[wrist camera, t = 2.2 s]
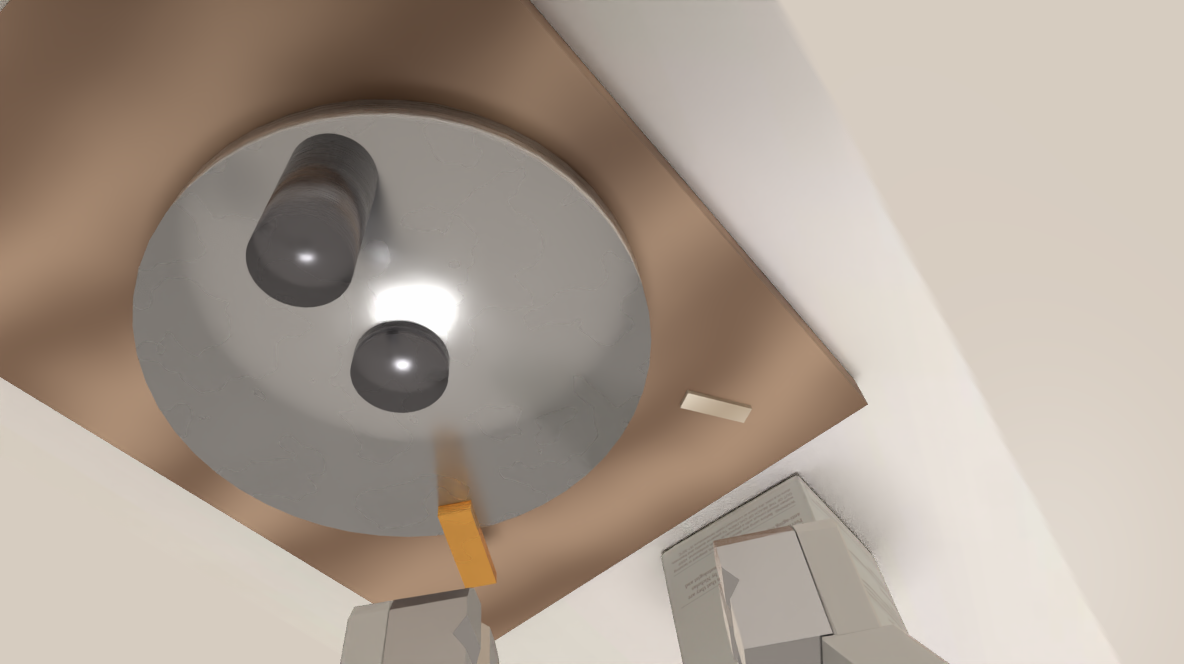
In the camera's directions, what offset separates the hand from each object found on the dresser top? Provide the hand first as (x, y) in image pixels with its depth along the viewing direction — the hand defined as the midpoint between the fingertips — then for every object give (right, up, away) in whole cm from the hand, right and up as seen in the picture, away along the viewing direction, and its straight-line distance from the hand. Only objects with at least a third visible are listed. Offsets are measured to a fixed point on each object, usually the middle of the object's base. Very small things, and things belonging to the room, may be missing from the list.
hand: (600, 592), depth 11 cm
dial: (-6, +2, +19) cm, 20 cm away
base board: (-7, +4, +20) cm, 21 cm away
